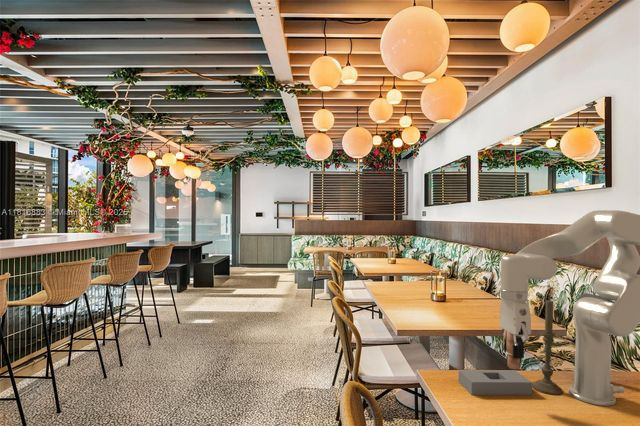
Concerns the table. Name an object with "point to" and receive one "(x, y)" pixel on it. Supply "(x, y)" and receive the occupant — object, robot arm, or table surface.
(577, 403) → the table surface
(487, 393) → the seat board
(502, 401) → the table surface
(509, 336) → the dowel
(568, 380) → the table surface
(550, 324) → the candlestick holder
